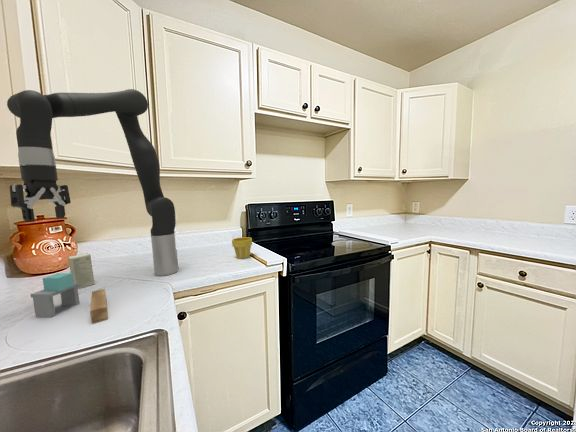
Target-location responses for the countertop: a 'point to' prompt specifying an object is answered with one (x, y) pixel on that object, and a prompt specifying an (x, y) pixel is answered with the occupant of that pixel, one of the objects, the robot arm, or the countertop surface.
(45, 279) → the block
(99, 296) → the rod
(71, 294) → the tunnel
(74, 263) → the skincare box
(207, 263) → the countertop surface
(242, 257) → the plant pot
